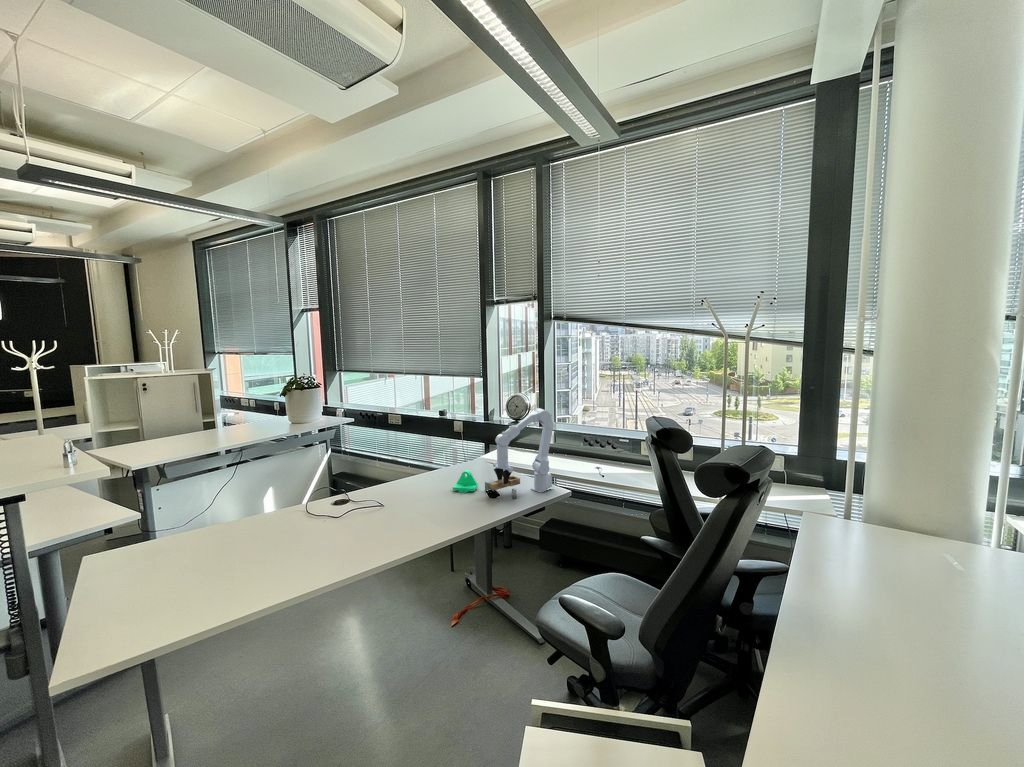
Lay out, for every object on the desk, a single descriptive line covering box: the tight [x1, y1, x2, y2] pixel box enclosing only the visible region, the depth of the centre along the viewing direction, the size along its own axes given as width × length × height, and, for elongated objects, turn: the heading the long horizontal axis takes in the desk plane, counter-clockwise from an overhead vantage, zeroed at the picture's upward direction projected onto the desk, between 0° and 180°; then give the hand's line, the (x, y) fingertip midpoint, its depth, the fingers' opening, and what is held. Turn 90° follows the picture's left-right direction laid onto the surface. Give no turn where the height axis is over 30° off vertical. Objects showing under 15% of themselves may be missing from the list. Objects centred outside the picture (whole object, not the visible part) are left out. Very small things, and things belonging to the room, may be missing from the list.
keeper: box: [484, 479, 495, 492], centre depth 239 cm, size 7×5×5 cm
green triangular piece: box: [452, 469, 479, 494], centre depth 242 cm, size 12×8×10 cm, turn 78°
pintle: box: [511, 488, 518, 499], centre depth 230 cm, size 2×2×4 cm
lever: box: [488, 475, 521, 492], centre depth 234 cm, size 17×6×3 cm, turn 129°
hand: (503, 482), depth 234 cm, fingers closed on lever, 4 cm apart
